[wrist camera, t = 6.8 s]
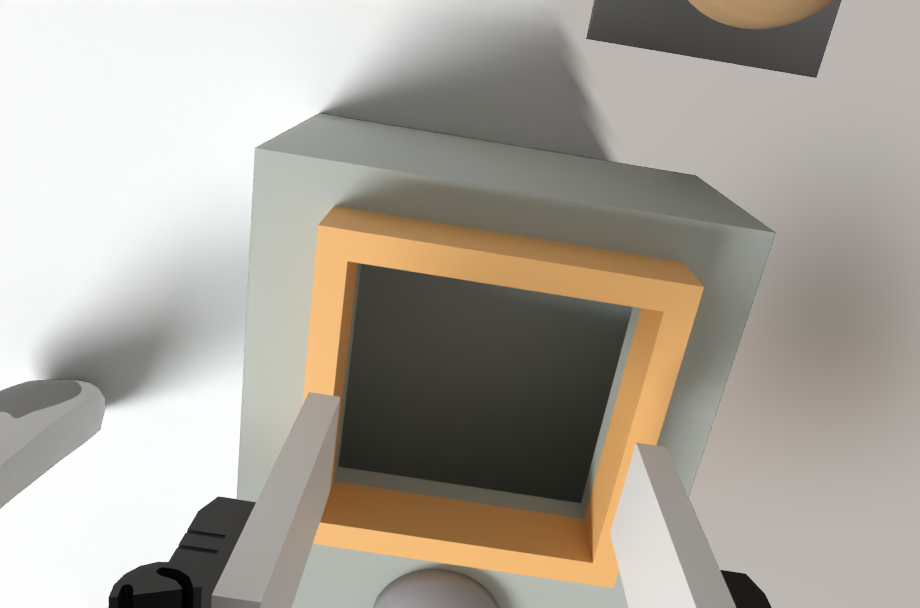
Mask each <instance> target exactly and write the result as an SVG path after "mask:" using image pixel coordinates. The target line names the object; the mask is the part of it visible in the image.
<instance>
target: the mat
mask: <svg viewBox="0 0 920 608" xmlns="http://www.w3.org/2000/svg"><path fill="white" fill-rule="evenodd" d="M840 3H841V0H835V1H834V2H833V3H831V4H830V5H828V6H827V7H825V8H824V9H822V10H820V11H819V12H817V13H815V14H813V15H811V16H809V17H807V18H805V19H803V20H800V21H798V22H795V23H792V24H788V25H785V26H780V27H774V28H768V29H745V28H738V27H734V26H730V25H726V24H723V23H720V22H718V21H715V20H713V19H711V18H709V17H708V16H706V15H704V14H703V13H701V12H700V11H699V10H698V9H696V8H695V7H694V6H693V5H692V4H691V3H690V2H689V1H688V0H594V5H593V10H592V14H591V19H590V24H589V29H588V34H587V38H586V39H591V40H597V41H603V42H609V43H615V44H621V45H627V46H633V47H638V48H644V49H650V50H656V51H663V52H668V53H674V54H680V55H686V56H691V57H697V58H703V59H709V60H715V61H721V62H727V63H733V64H738V65H744V66H750V67H756V68H762V69H768V70H774V71H780V72H786V73H792V74H797V75H803V76H809V77H816V76H817V74H818V70H819V67H820V64H821V61H822V58H823V55H824V52H825V49H826V46H827V43H828V40H829V37H830V34H831V30H832V27H833V24H834V21H835V18H836V15H837V12H838V9H839V6H840Z"/></svg>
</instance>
